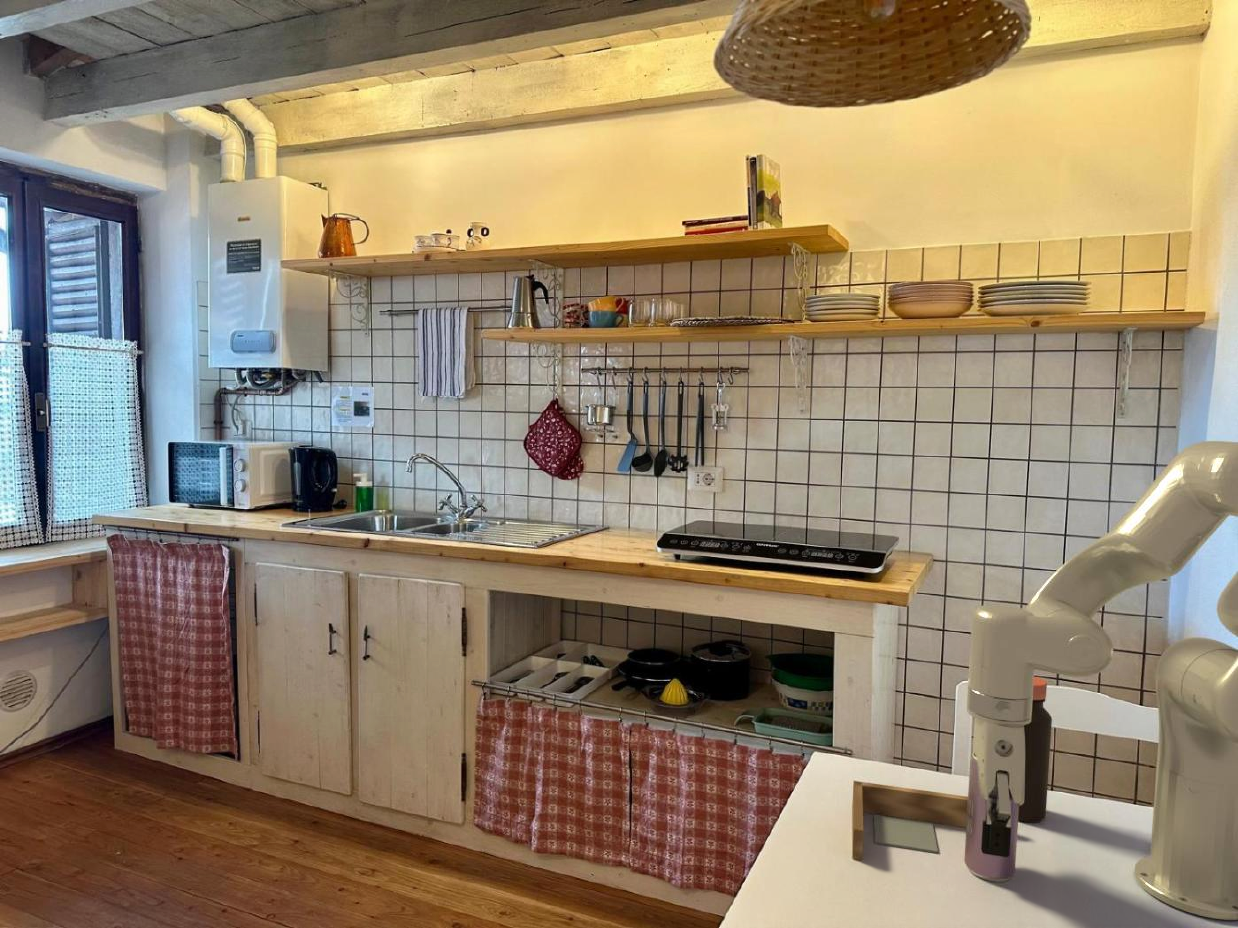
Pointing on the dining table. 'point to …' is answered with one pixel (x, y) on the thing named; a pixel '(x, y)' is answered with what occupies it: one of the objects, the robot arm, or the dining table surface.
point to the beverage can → (976, 814)
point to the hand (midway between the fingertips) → (990, 839)
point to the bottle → (1036, 757)
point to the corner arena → (903, 807)
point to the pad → (905, 833)
